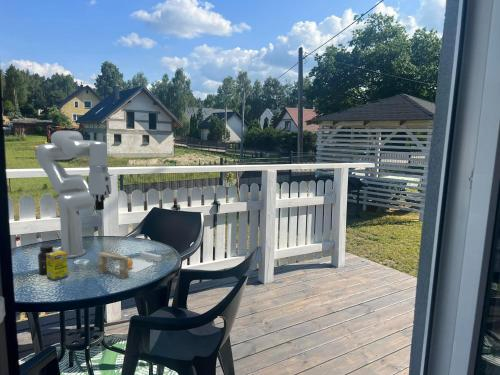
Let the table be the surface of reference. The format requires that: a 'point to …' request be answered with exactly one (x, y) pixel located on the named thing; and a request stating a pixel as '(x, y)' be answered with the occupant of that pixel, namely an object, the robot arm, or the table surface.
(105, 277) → the table surface
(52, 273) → the supplement box
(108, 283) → the table surface
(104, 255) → the bridge
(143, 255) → the wall
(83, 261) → the table surface
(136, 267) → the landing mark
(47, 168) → the robot arm
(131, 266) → the ball
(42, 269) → the supplement bottle
